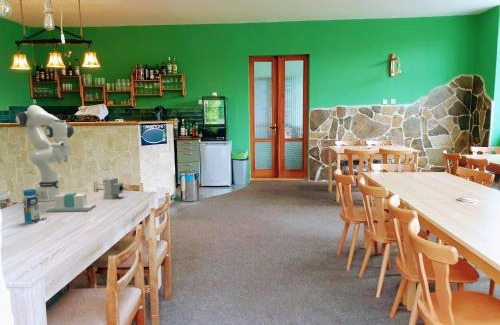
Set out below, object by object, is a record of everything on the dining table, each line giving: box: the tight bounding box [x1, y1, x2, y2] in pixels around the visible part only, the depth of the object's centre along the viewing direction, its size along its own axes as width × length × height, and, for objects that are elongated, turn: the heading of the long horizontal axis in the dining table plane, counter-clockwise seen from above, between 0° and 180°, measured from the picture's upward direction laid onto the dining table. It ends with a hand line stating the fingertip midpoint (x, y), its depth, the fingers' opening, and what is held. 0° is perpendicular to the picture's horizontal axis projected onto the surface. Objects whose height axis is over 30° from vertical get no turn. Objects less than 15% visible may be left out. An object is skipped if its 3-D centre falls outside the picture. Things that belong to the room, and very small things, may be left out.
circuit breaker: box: [102, 177, 125, 200], centre depth 307 cm, size 8×14×15 cm, turn 78°
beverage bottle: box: [22, 188, 41, 224], centre depth 243 cm, size 8×8×20 cm
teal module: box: [65, 192, 77, 208], centre depth 273 cm, size 5×6×9 cm
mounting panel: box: [45, 193, 97, 213], centre depth 273 cm, size 28×14×10 cm, turn 91°
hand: (62, 162), depth 280 cm, fingers open, 8 cm apart
